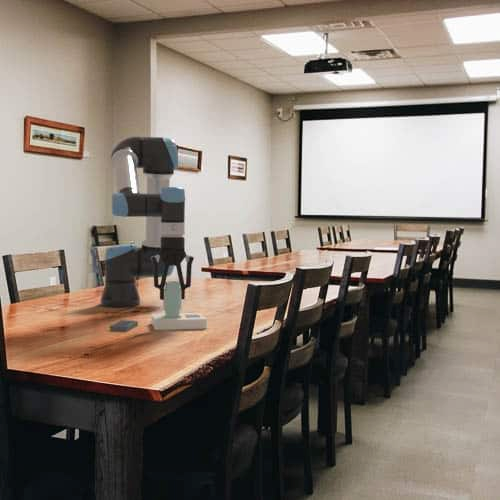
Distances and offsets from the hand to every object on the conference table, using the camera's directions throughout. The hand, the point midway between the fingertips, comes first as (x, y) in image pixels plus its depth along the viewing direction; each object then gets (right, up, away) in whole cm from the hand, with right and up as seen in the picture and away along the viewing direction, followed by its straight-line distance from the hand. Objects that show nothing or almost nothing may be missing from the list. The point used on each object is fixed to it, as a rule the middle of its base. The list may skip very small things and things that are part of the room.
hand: (172, 309), depth 206 cm
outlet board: (+2, -5, +1) cm, 6 cm away
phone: (-14, -6, -4) cm, 16 cm away
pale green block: (0, -3, 0) cm, 3 cm away
